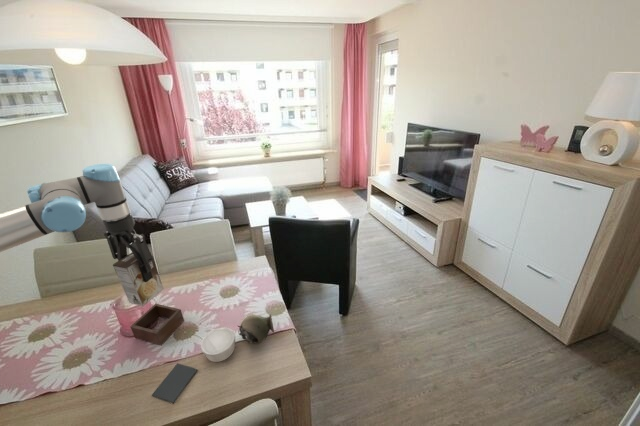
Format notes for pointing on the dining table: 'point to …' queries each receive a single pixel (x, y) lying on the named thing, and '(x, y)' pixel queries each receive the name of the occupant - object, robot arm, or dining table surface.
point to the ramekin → (218, 344)
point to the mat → (174, 383)
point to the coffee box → (137, 280)
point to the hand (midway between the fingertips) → (140, 277)
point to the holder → (150, 317)
